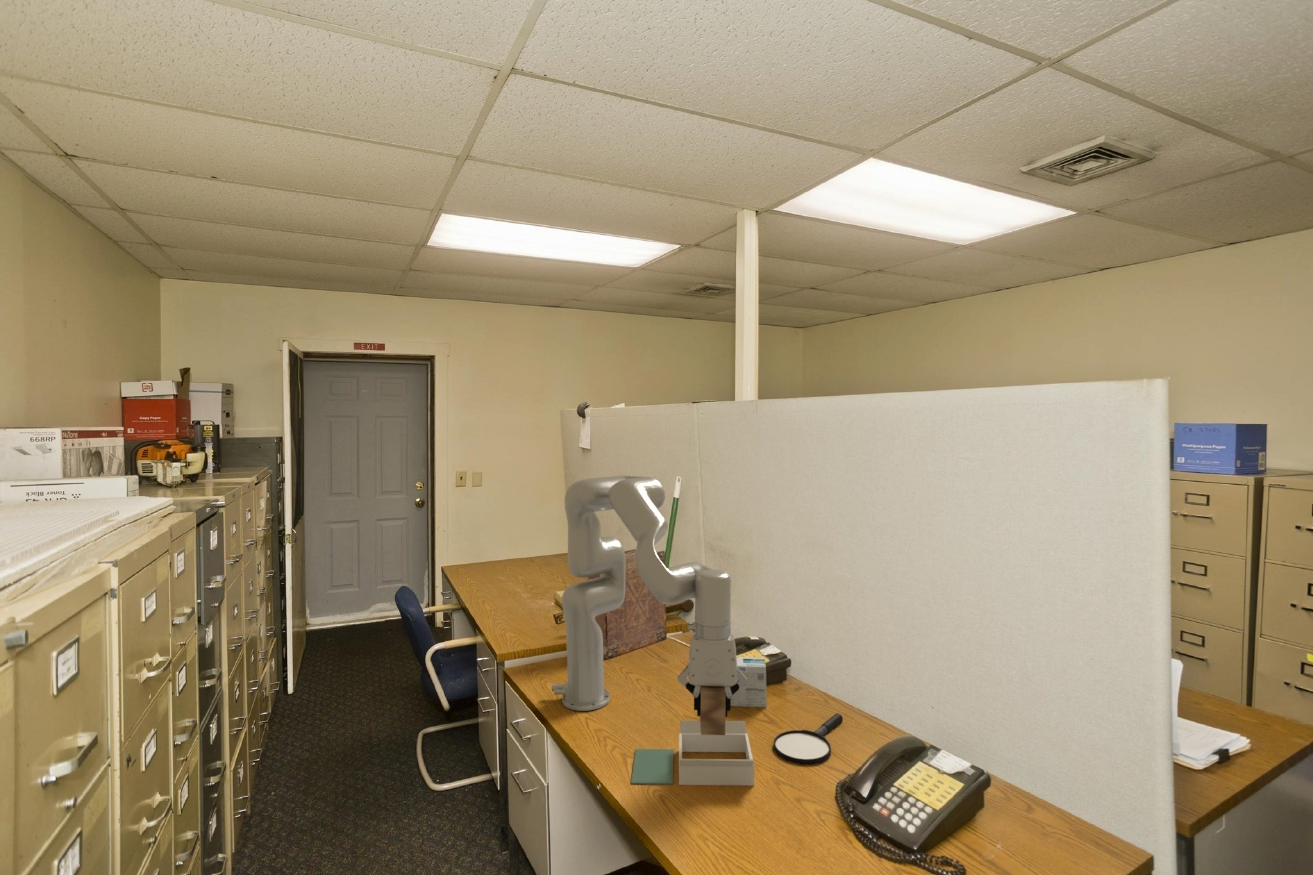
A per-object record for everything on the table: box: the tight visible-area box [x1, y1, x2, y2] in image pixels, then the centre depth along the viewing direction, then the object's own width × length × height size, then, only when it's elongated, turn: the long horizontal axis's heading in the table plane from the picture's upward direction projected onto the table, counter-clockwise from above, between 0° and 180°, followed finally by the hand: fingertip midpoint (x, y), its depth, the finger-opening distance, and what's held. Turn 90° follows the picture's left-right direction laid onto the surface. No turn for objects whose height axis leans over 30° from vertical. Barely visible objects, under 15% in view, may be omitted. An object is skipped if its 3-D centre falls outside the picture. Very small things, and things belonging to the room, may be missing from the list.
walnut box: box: [699, 686, 726, 735], centre depth 135 cm, size 5×9×9 cm, turn 178°
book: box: [587, 548, 668, 660], centre depth 206 cm, size 25×9×30 cm, turn 133°
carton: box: [678, 720, 755, 787], centre depth 134 cm, size 15×16×6 cm
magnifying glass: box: [773, 713, 844, 766], centre depth 145 cm, size 12×24×2 cm, turn 137°
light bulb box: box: [731, 656, 768, 708], centre depth 165 cm, size 11×7×11 cm, turn 84°
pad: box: [630, 748, 675, 785], centre depth 135 cm, size 8×13×1 cm, turn 178°
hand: (712, 712), depth 135 cm, fingers closed on walnut box, 5 cm apart
